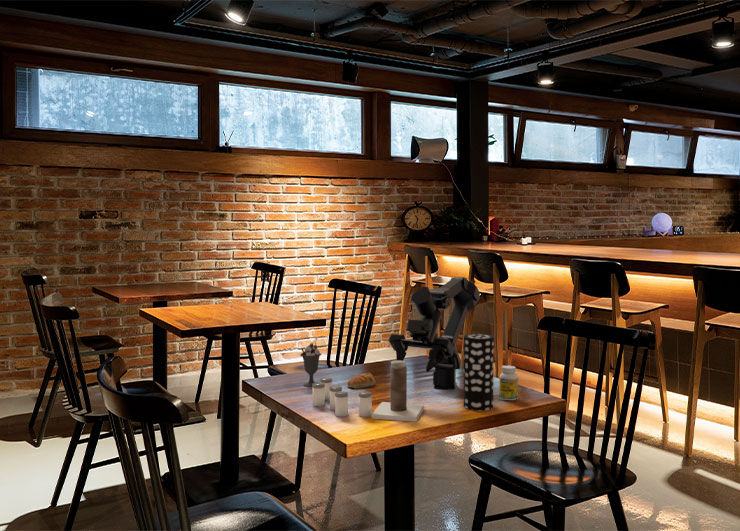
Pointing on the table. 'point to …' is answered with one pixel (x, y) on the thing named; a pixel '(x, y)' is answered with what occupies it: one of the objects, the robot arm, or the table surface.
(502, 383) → the supplement bottle
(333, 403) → the shakers
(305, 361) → the sundae
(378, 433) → the table surface
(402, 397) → the pepper mill
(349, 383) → the pastry
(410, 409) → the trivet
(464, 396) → the spotted tube
